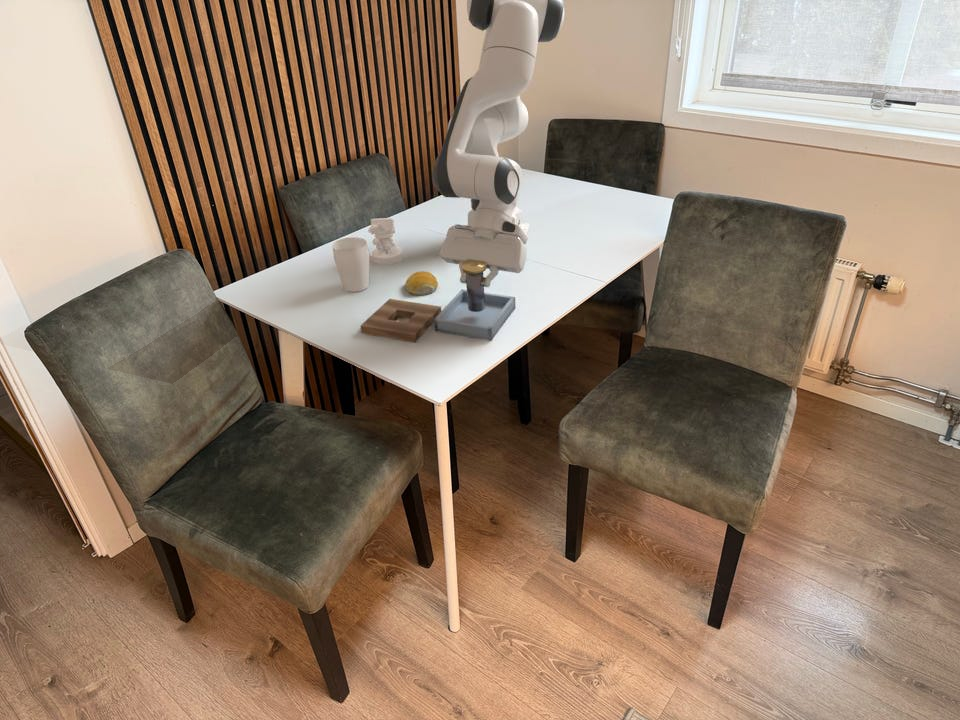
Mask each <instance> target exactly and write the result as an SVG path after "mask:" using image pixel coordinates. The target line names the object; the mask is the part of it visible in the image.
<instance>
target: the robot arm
mask: <svg viewBox="0 0 960 720" xmlns="http://www.w3.org/2000/svg"><path fill="white" fill-rule="evenodd" d="M466 12H467V16H468V21H469V23H470V24H471V25H472V26H473V27H475V29H478V30H479V31H480V30H481V32H484V31H486V32H485V35H484V40H483V43H482V50H481V54H480V58H479V59H480V60H479V65H478V70H477V71H476V72H475V74H473V75H472V76H471V77H470V78H468V79H467V80H466V81H465V82H464V85H463V86H462V88H461V92H460V94H459V96H458V99H457V102H456V105H455V108H454V111H453V115H452V116H451V117H450V119H449V121H448V125H447V132H446V135H445V137H444V138H445V139H444V141H443V145H442V147H441V149H440V151H439V154H438V155H437V157H436V159H435V161H434V165H433V167H432V171H431V173H432V174H431V176H432V177H431V179H432V183H433V185H434V187H435V188H436V189H437V191H438V192H439V193H440V194H441V195H442V196H443V197H444V198H457V199H458V198H463V199H470V208H471V209H470V210H469V211H468V212H467V225H466V224H457V223H456V224H455V225H452V226H450V227H449V228H448V230H447V232H446V234H445V239H444V241H443V243H442V245H441V248H440V251H439V255H440V258H441V259H442V260H443V261H444V262H445V263H447V264H448V263H449V264H456V265H458V267H459V271H460V274H461V275H460V277H459V282H460V283H461V284H464V285H466V273H465V272H463V271H462V266H461V264H462V262H463V261H465V260H468V259H472V260H478V261H485V262H486V267H487V268H486V270H487V269H488V270H489V271H490V272H489V273H488V274H487V276H483V278H482V282H481V285H482V286H484V288H490V285H491V282H492V281H493V280H494V279H495V278H496V277H497V276H498V274H499V271H501V272H508V273H516V274H520V273H521V272H523V270H524V269H525V265H526V260H527V246H526V244H527V242H528V235H529V232H528V231H530V228H531V226H530V223H528V222H525V221H523V211H522V210H521V209H520V208H519V207H518V206H517V204H518V202H519V201H518V200H519V196H520V194H521V193H520V192H521V186H522V178H523V170H522V168H521V166H520V165H519V163H517V162H516V161H515V160H513V159H510V158H507V157H502V156H499V155H500V154H499V153H498V145H499V144H500V143H505V142H507V141H510V140H514V139H515V138H516V137H518V136H519V135H520V134H522V133H523V132H525V131H526V130H527V127H528V124H529V113H528V109H527V106H526V104H524V103H523V101H522V100H521V95H522V94H523V93H524V92H525V91H526V90H527V89H528V88H529V86H530V84H531V82H532V78H533V75H534V70H535V68H536V67H535V65H536V60H537V56H538V55H537V54H538V46H539V44H538V43H548V42H549V43H550V42H552V41H553V40H555V39H556V38H557V36H558V34H559V33H560V31H561V30H562V27H563V25H564V20H565V2H564V0H466ZM527 234H528V235H527Z"/></svg>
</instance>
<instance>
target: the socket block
mask: <svg viewBox="0 0 960 720" xmlns="http://www.w3.org/2000/svg"><path fill="white" fill-rule="evenodd" d="M441 311H442V306H440V305H433V304H428V303H427V304H426V303H419V302H413V301H407V300H400V299H396V298H395V299H393V298H389V299H387V301H385V302H384V303H383V304H382V305H381V306H380V307H379V308H378V309H377V310H376V311H375V312H373V314H371V316H369V317H368V318H367V319H366V320H365V321H364V322H363V323H361V324H360V333H361V334H363V335H365V334H366V335H371V336H374V337H375V336H377V337H381V338H388V339H391V340H392V339H393V340H398V341H404V342H409V343H417V341H418V340H419V339H420V338H421V337H422V336H423V335H424V334H425V333H426V332H427V331H428V330H429V328H431V326H432V325H433V324H434V319H435V318H436V317H437V316H438V315H439V314H440V312H441ZM398 318H404V319H407V321H406V322H405V321H401V320H400V321H399V320H397V319H398Z"/></svg>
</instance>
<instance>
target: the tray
mask: <svg viewBox="0 0 960 720" xmlns="http://www.w3.org/2000/svg"><path fill="white" fill-rule="evenodd" d="M484 296H485V309H484V310H482V311H480V312H472V311H470V310H468V301H467V289H461V290H460V291H458V293H457V294H456V295H455V296H454V297H453V298H452V299H451V300H450V301H449V302H448V303H447V304H446V306H444V308H443V309H441V312H440V314H439V315H438V316H437V317H436V318H435V319H434V323H433V324H434V325H433V326H434V332H436V333H437V332H439V333H444V334H450V335H455V336H456V335H457V336H462V337H468V338H474V339H479V340H486V341H492V340H493V339H494V338H495V336H496V335H497V334H498V333H499V331H500V330H501V328H503V326H504V325H505V323H506V321H507V320H508V319H509V317H510V316H511V315H512V313H514V311H515V309H516V296H510V295H504V294H496V293H489V292H484Z"/></svg>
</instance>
